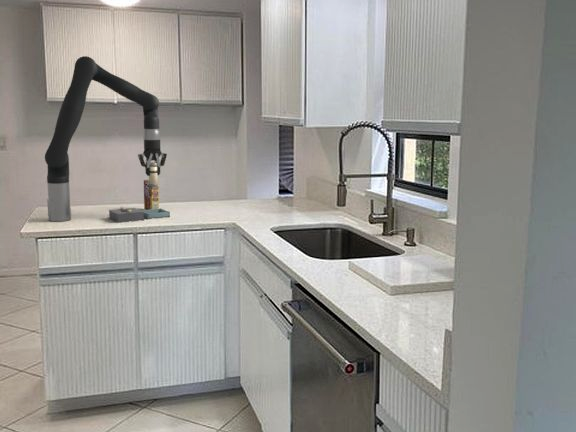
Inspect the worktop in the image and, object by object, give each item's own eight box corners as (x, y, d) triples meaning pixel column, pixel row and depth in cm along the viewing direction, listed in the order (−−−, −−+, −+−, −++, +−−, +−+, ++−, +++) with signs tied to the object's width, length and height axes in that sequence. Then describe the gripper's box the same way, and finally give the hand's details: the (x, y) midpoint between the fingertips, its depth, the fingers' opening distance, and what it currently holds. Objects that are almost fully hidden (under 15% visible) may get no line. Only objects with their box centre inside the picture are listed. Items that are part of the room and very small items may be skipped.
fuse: (150, 187, 276) (150, 163, 274) (147, 186, 280) (146, 162, 278) (159, 186, 279) (158, 163, 277) (156, 185, 282) (155, 162, 280)
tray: (147, 219, 274) (147, 213, 274) (139, 215, 283) (138, 210, 283) (169, 217, 281) (169, 211, 280) (160, 213, 289) (160, 208, 289)
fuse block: (117, 222, 265) (117, 211, 264) (109, 218, 275) (109, 207, 274) (143, 220, 272) (143, 209, 271) (134, 216, 282) (134, 205, 281)
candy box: (159, 211, 296) (159, 181, 293) (151, 212, 293) (151, 181, 290) (151, 208, 302) (150, 179, 300) (143, 209, 300) (142, 179, 297)
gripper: (140, 139, 268) (141, 177, 271) (169, 138, 276) (170, 175, 279) (134, 138, 274) (135, 175, 278) (163, 138, 282) (164, 173, 285)
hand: (153, 175), depth 278 cm, fingers closed on fuse, 4 cm apart
